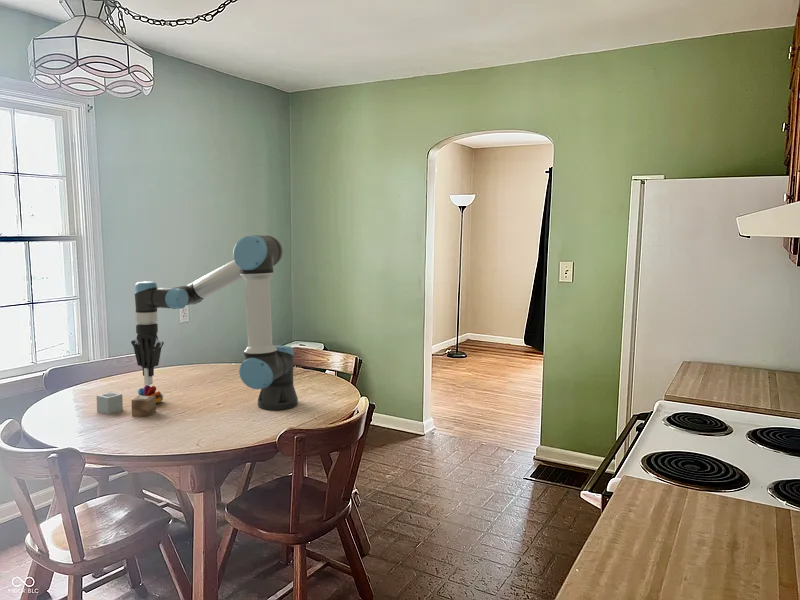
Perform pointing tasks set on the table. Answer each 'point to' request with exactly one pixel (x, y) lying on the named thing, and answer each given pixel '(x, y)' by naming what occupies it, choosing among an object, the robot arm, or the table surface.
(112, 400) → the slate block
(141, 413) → the walnut block
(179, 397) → the table surface
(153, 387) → the rainbow segmented toy
